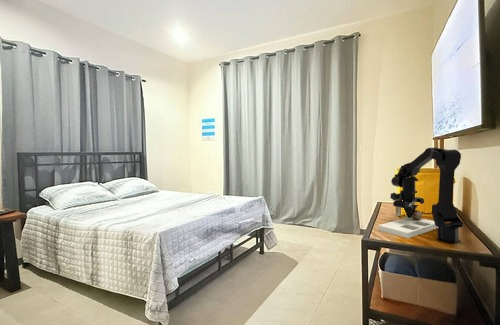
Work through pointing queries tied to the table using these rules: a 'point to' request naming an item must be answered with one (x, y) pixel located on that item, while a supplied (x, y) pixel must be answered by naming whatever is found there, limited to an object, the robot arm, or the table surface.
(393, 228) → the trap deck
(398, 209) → the skincare box
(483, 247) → the table surface
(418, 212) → the walnut block
